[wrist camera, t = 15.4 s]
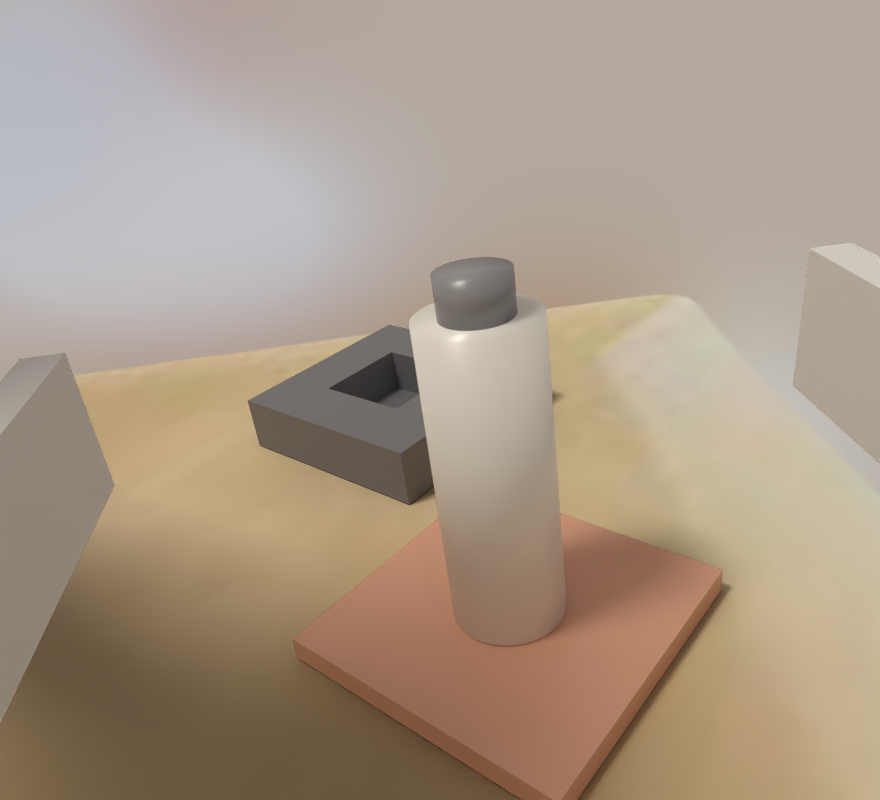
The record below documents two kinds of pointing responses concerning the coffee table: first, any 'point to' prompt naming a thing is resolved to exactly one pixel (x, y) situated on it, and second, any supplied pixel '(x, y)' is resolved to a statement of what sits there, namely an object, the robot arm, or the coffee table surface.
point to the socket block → (354, 416)
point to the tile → (517, 657)
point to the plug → (492, 450)
